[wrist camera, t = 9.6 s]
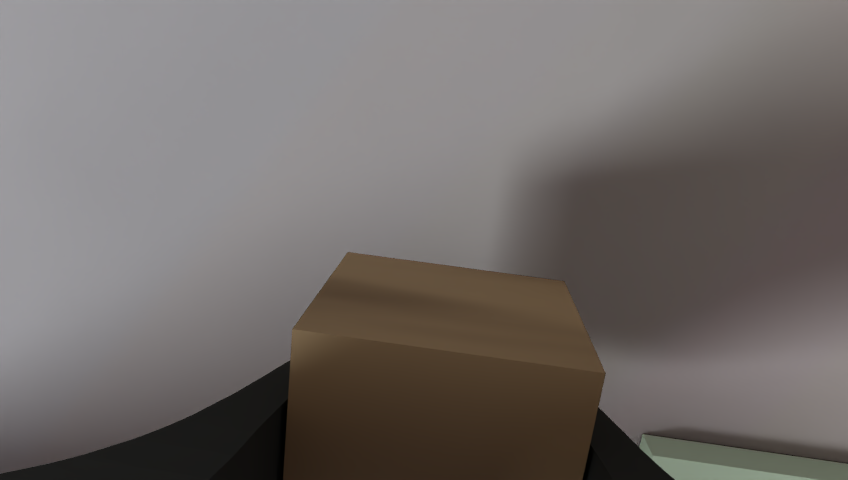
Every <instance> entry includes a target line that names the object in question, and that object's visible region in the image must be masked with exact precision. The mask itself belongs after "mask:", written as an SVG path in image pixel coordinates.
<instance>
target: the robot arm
mask: <svg viewBox="0 0 848 480" xmlns="http://www.w3.org/2000/svg"><path fill="white" fill-rule="evenodd" d="M289 376H290V361H289V362H287V363H285V364H283V365H282V366H280V367H278V368H277V369H275V370H273V371H272V372H270V373H268V374H267V375H265V376H263V377H262V378H260V379H258V380H257V381H255V382H253V383H252V384H250V385H248V386H246V387H245V388H243V389H241V390H239V391H238V392H236V393H234V394H232V395H231V396H229V397H227V398H225V399H223V400H221V401H219V402H217V403H215V404H213V405H211V406H209V407H207V408H205V409H203V410H201V411H199V412H198V413H196V414H194V415H192V416H189V417H187V418H185V419H183V420H181V421H178V422H176V423H174V424H171V425H169V426H167V427H164V428H161V429H159V430H156V431H154V432H151V433H149V434H146V435H144V436H141V437H138V438H135V439H133V440H129V441H126V442H123V443H120V444H117V445H113V446H110V447H107V448H104V449H101V450H97V451H94V452H91V453H88V454H85V455H81V456H78V457H74V458H70V459H66V460H62V461H58V462H54V463H50V464H46V465H41V466H36V467H32V468H27V469H22V470H18V471H13V472H8V473H2V474H0V480H283V473H284V457H285V441H286V424H287V408H288V392H289ZM583 480H675V479H674V478H672V477H671V476H670V475H669V474H668V473H666V472H665V471H664V470H663V469H662V468H661V467H660V466H659V465H658V464H656V463H655V462H654V461H653V460H652V459H651V458H650V457H649V456H648V455H647V454H646V453H644V452H643V451H642V450H641V449H640V448H639V447H638V446H637V445H636V444H635V443H634V442H633V441H632V440H631V439H630V438H629V437H628V436H627V435H626V434H625V433H624V432H623V431H622V430H621V429H620V428H619V427H618V426H617V425H616V424H615V423H614V422H613V421H612V420H611V419H610V418H609V417H608V416H607V415H606V414H605V413H604V412H603V411H601V410H600V409H599V408H598V410H597V415H596V420H595V424H594V429H593V434H592V438H591V443H590V447H589V452H588V457H587V461H586V466H585V470H584V475H583Z"/></svg>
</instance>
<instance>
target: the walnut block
mask: <svg viewBox="0 0 848 480" xmlns="http://www.w3.org/2000/svg"><path fill="white" fill-rule="evenodd" d="M605 374H606V373H605V371H604V369H603V366H602V364H601V362H600V360H599V357H598V355H597V353H596V351H595V349H594V346H593V344H592V342H591V340H590V337H589V335H588V333H587V331H586V329H585V326H584V324H583V322H582V320H581V317H580V315H579V313H578V311H577V309H576V306H575V304H574V302H573V300H572V297H571V295H570V293H569V291H568V289H567V286H566V284H565V282H564V281H559V280H551V279H544V278H536V277H529V276H521V275H514V274H507V273H499V272H492V271H484V270H477V269H469V268H462V267H454V266H447V265H440V264H432V263H425V262H417V261H410V260H402V259H395V258H387V257H380V256H373V255H365V254H358V253H350V252H348V253H347V254H346V255H345V257H344V258H343V260H342V261H341V262H340V264H339V265H338V267H337V268H336V269H335V271H334V272H333V274H332V275H331V276H330V278H329V279H328V280H327V282H326V283H325V285H324V286H323V287H322V289H321V290H320V292H319V293H318V294H317V296H316V297H315V298H314V300H313V301H312V303H311V304H310V305H309V307H308V308H307V310H306V311H305V312H304V314H303V315H302V316H301V318H300V319H299V321H298V322H297V323H296V325H295V326H294V328H293V329H292V343H291V360H290V376H289V392H288V408H287V424H286V441H285V457H284V473H283V480H583V475H584V470H585V466H586V461H587V457H588V452H589V447H590V443H591V438H592V434H593V429H594V424H595V420H596V415H597V410H598V406H599V401H600V397H601V392H602V387H603V383H604V378H605Z"/></svg>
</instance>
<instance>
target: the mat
mask: <svg viewBox="0 0 848 480" xmlns="http://www.w3.org/2000/svg"><path fill="white" fill-rule="evenodd" d="M639 448H640V449H641V450H642V451H643V452H644V453H646V454H647V455H648V456H649V457H650V458H651V459H652V460H653V461H654V462H655V463H656V464H658V465H659V466H660V467H661V468H662V469H663V470H664V471H665V472H666V473H668V474H669V475H670V476H671V477H672V478H674V479H675V480H848V464H845V463H838V462H831V461H824V460H818V459H811V458H804V457H797V456H790V455H783V454H776V453H769V452H762V451H755V450H748V449H742V448H735V447H728V446H721V445H714V444H707V443H700V442H693V441H686V440H679V439H673V438H666V437H659V436H652V435H645V434H642V439H641V443H640V447H639Z"/></svg>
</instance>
